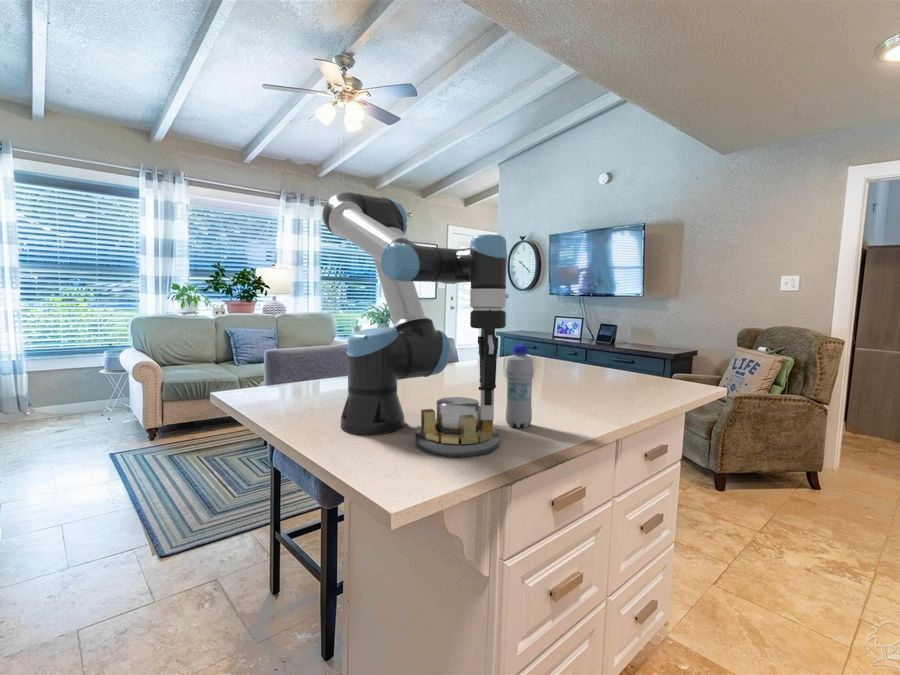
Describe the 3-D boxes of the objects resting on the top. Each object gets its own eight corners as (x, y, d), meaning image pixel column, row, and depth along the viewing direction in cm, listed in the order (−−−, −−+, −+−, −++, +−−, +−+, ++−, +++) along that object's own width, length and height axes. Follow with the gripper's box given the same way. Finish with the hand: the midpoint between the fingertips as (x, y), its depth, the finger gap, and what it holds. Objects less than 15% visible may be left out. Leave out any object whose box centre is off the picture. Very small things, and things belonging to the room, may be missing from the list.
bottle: (531, 430, 107) (534, 346, 106) (503, 428, 109) (505, 345, 107) (532, 422, 114) (534, 343, 112) (505, 420, 115) (507, 342, 114)
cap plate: (401, 451, 92) (401, 407, 91) (433, 427, 109) (433, 390, 108) (487, 462, 86) (488, 416, 85) (507, 435, 103) (507, 396, 102)
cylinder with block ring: (432, 447, 88) (432, 420, 87) (414, 425, 102) (414, 402, 102) (505, 440, 92) (505, 415, 92) (477, 420, 107) (478, 398, 107)
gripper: (510, 310, 90) (509, 427, 92) (501, 309, 103) (499, 411, 105) (473, 309, 90) (472, 427, 91) (468, 309, 103) (467, 411, 104)
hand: (486, 418), depth 98 cm, fingers closed
